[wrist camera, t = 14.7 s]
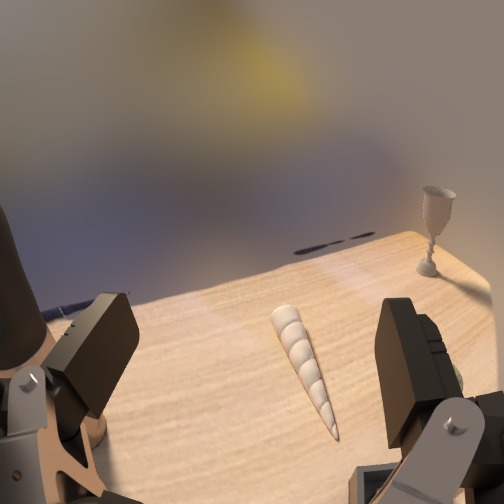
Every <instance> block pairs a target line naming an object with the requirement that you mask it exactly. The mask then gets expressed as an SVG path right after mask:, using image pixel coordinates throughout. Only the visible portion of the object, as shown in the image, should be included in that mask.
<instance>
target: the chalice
mask: <svg viewBox="0 0 504 504" xmlns="http://www.w3.org/2000/svg"><path fill="white" fill-rule="evenodd" d="M423 191H424V194H425V196H424V205H423V216H424V221H425V225H426V228H427V232H428V233H429V234H431V239H430V241H429V242H428V243H429V248H428V249H427V252H428V256H427V258H424V259H422V260H421V261H420V263H419V264H418V266H417V267H416V271H417V272H418V273H419V274H421V275H423V276H427V277H432V276H435V275H436V274H437V270H436V264H435V262H434V261H433V260H432V259H431V256H432V254H433V253H434V250H433V247H434V245H435V236H438V235H440V234H441V232H442V231H443V230H444V228H445V227H446V225H447V223H448V221H449V219H450V215H451V209H452V202H453V199H454V198H455V196H456V195H455V193H453V192H452V191H450V190H447V189H444V188H440V187H435V186H426V187H424V188H423Z"/></svg>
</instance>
